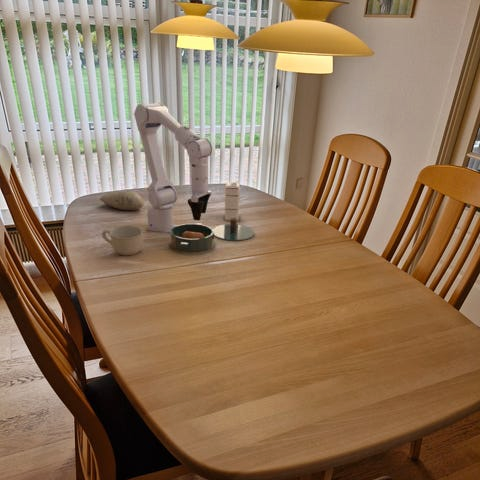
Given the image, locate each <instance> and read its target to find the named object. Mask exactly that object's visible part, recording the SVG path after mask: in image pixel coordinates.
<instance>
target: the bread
mask: <svg viewBox="0 0 480 480" xmlns="http://www.w3.org/2000/svg"><path fill="white" fill-rule="evenodd" d="M182 238H187V239H199V238H204V235H203V234H202V233H198V232H189V231H186V232H184V233H183V234H182Z"/></svg>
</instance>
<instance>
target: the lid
mask: <svg viewBox="0 0 480 480" xmlns="http://www.w3.org/2000/svg"><path fill="white" fill-rule="evenodd" d="M212 229H213V231H214V238H217V239H220V240H223V241H228V242H229V241H230V242H243V241H247V240H250V239H252V238H253V237H254V235H255V232H254V230H253V229H252V228H251V227H249V226H245V225H242V224H238V220H237V219H236V218H231V219H230V220H229V224H227V223H226V224H220V225H217V226H214V227H213V228H212Z"/></svg>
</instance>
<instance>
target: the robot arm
mask: <svg viewBox="0 0 480 480" xmlns="http://www.w3.org/2000/svg"><path fill="white" fill-rule="evenodd" d="M133 115H134V121H135V123H136V127H137V130H138V133H139V137H140V141H141V145H142V149H143V152H144V156H145V159H146V164H147V167H148V171H149V175H150V179H151V183H150V184H149V185H148V187H147V193H148V195H147V196H148V197H147V199H148V202H149V204H150V205H148V208H147V214H146V215H147V230H148V231H157V232H164V233H165V232H166V233H171V232H170V231H171V229H172V228H173V227H175V226H178V224H174V223H175V222H174V207H175V203H177V201H178V193H177V190H176V188H175V187H174V182H172V181H171V180H169V179H168V178H167V176H166V172H165V168H164V163H163V160H162V157H161V151H160V148H159V143H158V140H157V136H156V133H157V132H158V131H157V130H159V129H160V128H161V127H162V126H163V127H164V128H166V129H167V130H169V131H170V132H171V133H172V134H174V139H175V140H176V141H177V143H179V144H180V146H182V147H183V148H184V149H185V150H186V154H187V156H188V159H189V164H190V195H191V196H190V198H188V199H187V204H188V207H189V208H190V210H191V215H192V219H193V220H194V221H200V220H201V217H202V214H206V212H207V207H208V203H209V199H210V197H211V195H212V190H209V157H210V156H212V152H213V145H212V143H211V141H210V140H209V139H208V138H206V137H204V138H202V137H200V135H199V134H196V133H195V132H194V131H193V130H192V129H191V126H189V125H185V124H184V125H183V124H182V125H181V124H180V123H179V122H178V120H177V119H176V118H175V117H174V116H173V115H172V114H171V113H170V112H169V109H168V107H167V106H166V105H165V104H164V103H163V102H157V103H144V104H142V103H138V104H137V105H136V107H135V110H134V113H133Z"/></svg>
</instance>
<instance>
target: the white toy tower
mask: <svg viewBox="0 0 480 480" xmlns="http://www.w3.org/2000/svg"><path fill="white" fill-rule="evenodd" d="M240 185H241V184H240V183H239V182H235V181H233V182H232V181H229V182H227V181H226V182H225V187H224V220H226V221H227V220H228V221H230V219H231V218H236V219H237V221H239V219H240V187H241V186H240Z"/></svg>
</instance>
